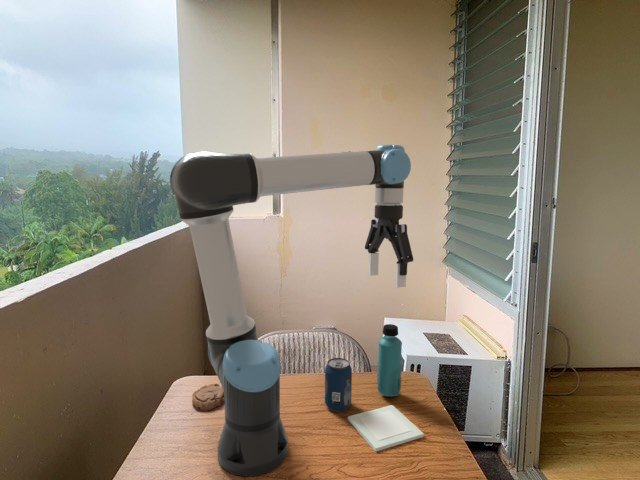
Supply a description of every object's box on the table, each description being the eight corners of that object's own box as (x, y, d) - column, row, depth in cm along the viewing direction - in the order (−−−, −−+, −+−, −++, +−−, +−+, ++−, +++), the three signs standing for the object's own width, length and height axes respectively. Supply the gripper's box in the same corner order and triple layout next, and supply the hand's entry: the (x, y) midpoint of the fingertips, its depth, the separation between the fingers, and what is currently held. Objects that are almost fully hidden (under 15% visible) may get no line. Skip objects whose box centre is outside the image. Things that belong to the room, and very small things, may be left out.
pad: (375, 451, 90) (375, 448, 90) (347, 419, 102) (347, 416, 102) (423, 436, 96) (423, 433, 95) (392, 407, 107) (392, 404, 107)
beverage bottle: (400, 403, 109) (403, 331, 106) (375, 400, 111) (377, 329, 108) (400, 390, 116) (403, 322, 113) (377, 388, 117) (379, 320, 114)
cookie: (187, 413, 105) (187, 402, 104) (195, 391, 115) (194, 381, 115) (227, 410, 106) (227, 400, 105) (231, 389, 116) (231, 379, 116)
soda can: (327, 397, 112) (327, 355, 110) (352, 400, 111) (353, 358, 109) (322, 411, 105) (322, 367, 103) (349, 414, 104) (350, 370, 102)
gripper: (430, 207, 101) (425, 290, 105) (376, 200, 124) (374, 269, 127) (404, 208, 98) (401, 294, 102) (354, 201, 121) (352, 271, 124)
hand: (386, 280), depth 114 cm, fingers open, 13 cm apart
